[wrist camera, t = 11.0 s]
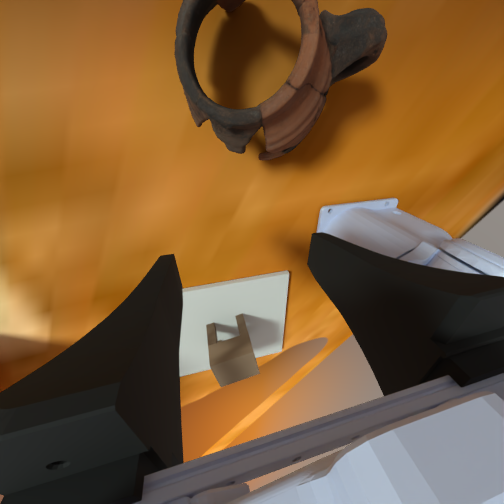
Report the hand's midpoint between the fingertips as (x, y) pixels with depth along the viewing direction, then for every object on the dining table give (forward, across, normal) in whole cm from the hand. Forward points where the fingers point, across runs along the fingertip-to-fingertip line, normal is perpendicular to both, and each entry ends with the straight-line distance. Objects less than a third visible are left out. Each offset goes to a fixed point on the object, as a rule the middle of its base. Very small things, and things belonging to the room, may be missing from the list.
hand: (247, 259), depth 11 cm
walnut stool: (+10, +1, +18) cm, 21 cm away
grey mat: (+10, +1, +18) cm, 21 cm away
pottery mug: (+11, -4, -8) cm, 14 cm away
